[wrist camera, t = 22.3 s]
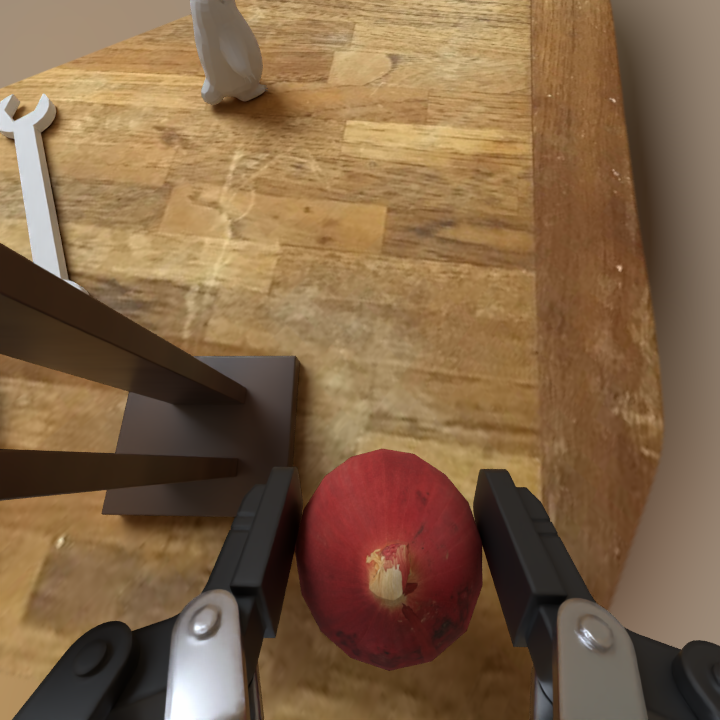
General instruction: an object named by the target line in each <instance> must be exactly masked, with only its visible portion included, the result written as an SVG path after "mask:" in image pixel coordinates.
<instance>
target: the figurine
mask: <svg viewBox="0 0 720 720" xmlns="http://www.w3.org/2000/svg"><path fill="white" fill-rule="evenodd" d="M190 4H191V14H192V18H193V25H194V35H195V42H196V47H197V51H198V55H199V59H200V61H201V64H202V67H203V69H204V72H205V76H206V79H205V82H204V84H203V87H202V91H201V93H202V98H203V100H204V101H205V102H207V103H209V104H211V105H215V104H218V103H220V102H221V101H222V100H223V98H224V97H226V96H232V97H236V98H238V99H239V100H241V101H244V102H245V101H248V100H250V99H253V98H255V97H257V96H259V95H260V94H262V93H263V92H264V91H267V90H264V89H268V88H266V87H265V86H266V85H261V84H260V83H259V81H260V78H261V75H262V68H263V64H262V56H261V52H260V48H259V45H258V43H257V40H256V38H255V36H254V34H253V32H252V31H251V29H250V27H249V26H248V24H247V22H246V21H245V19H244V18H243V16H242V15H241V13H240V12H239V10H238V9H237V7H236V4H235V1H234V0H190Z"/></svg>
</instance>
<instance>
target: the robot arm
mask: <svg viewBox="0 0 720 720" xmlns="http://www.w3.org/2000/svg"><path fill="white" fill-rule="evenodd" d="M302 509H303V500H302V493H301V486H300V480H299V473H298V469H297V467H273V468H272V470H271V472H270V475H269V478H268V481H267V483H266V484H255V485H254V486H253V487H252V488H251V490H250V491H249V492H248V493H247V494H246V495H245V496H244V497H243V499H242V502H241V504H240V507H239V509H238V511H237V515H236V517H235V518H234V521H233V523H232V525H231V530H229V533H228V535H227V537H226V540H225V542H224V544H223V547H222V549H221V551H220V554H219V556H218V558H217V561H216V563H215V566H214V568H213V570H212V573H211V575H210V577H209V580H208V582H207V584H206V586H205V588H204V590H203V591H202V593H201V594H200V595H199V596H197V597H195V598H194V599H193V600H192V601H190V602H189V603H188V604H187V605H186V607H185V608H184V609H183V610H182V612H181V613H179V614H178V615H176V616H174V617H172V618H169V619H167V620H164V621H161V622H158V623H155V624H152V625H149V626H146V627H143V628H140V629H137V630H134V631H131V630H130V628H129V627H128V626H127V625H126V624H125V623H123V622H120V621H110V622H106V623H103V624H101V625H98V626H96V627H94V628H93V629H91V630H89V631H88V632H86V633H85V634H84V635H82V636H81V637H80V638H79V639H78V640H77V641H76V642H75V643H73V644H72V645H71V647H70V648H69V649H68V650H67V651H66V652H65V654H64V655H63V656H62V657H61V659H60V660H59V661H58V662H57V664H56V665H55V666H54V667H53V669H52V670H51V671H50V673H49V674H48V675H47V676H46V678H45V679H44V680H43V681H42V683H41V684H40V685H39V686H38V688H37V689H36V690H35V692H34V693H33V694H32V695H31V696H30V698H29V699H28V701H26V703H25V704H24V705H23V707H22V708H21V709H20V710H19V712H18V713H17V714H16V715H15V717H14V718H13V719H12V720H264V712H263V703H262V694H261V685H260V675H259V666H258V658H259V654H260V650H261V646H262V642H263V638H275V637H276V633H277V628H278V624H279V619H280V614H281V610H282V605H283V601H284V596H285V591H286V587H287V582H288V578H289V573H290V569H291V564H292V559H293V555H294V550H295V546H296V541H297V537H298V532H299V527H300V523H301V518H302ZM473 511H474V518H475V523H476V526H477V529H478V532H479V534H480V537H481V540H482V546H483V549H484V552H485V555H486V559H487V562H488V565H489V568H490V572H491V575H492V578H493V581H494V585H495V588H496V591H497V594H498V598H499V601H500V604H501V607H502V611H503V614H504V617H505V620H506V624H507V627H508V630H509V634H510V637H511V640H512V643H513V647H528V649H529V652H530V655H531V658H532V661H533V666H532V669H531V688H530V719H529V720H720V646H718V645H716V644H713V643H710V642H707V641H700V640H698V641H691V642H689V643H687V644H686V645H685V646H684V647H683V648H682V650H681V649H678V648H675V647H672V646H669V645H667V644H664V643H661V642H658V641H655V640H653V639H650V638H647V637H645V636H642V635H639V634H636V633H634V632H632V631H630V630H628V629H626V628H624V627H623V626H622V625H621V624H620V622H619V621H618V620H617V619H616V618H615V617H614V616H613V615H612V614H611V613H609V612H608V611H607V610H606V609H604V608H603V607H601V606H599V605H598V604H597V603H596V602H595V600H594V599H593V597H592V596H591V594H590V593H589V591H588V589H587V587H586V585H585V583H584V581H583V580H582V578H581V576H580V574H579V572H578V570H577V568H576V567H575V565H574V563H573V561H572V559H571V557H570V555H569V554H568V552H567V550H566V548H565V546H564V544H563V542H562V541H561V539H560V537H558V535H557V531H556V529H555V527H554V526H553V524H552V522H550V518H549V516H548V514H547V513H546V511H545V509H544V507H543V505H542V503H541V502H540V501H539V500H538V499H537V498H536V497H535V496H534V495H533V494H532V493H531V492H530V491H529V490H528V489H527V488H526V487H516V486H515V484H514V482H513V480H512V478H511V476H510V474H509V472H508V471H507V470H506V469H481V470H480V472H479V476H478V481H477V486H476V491H475V497H474V502H473Z"/></svg>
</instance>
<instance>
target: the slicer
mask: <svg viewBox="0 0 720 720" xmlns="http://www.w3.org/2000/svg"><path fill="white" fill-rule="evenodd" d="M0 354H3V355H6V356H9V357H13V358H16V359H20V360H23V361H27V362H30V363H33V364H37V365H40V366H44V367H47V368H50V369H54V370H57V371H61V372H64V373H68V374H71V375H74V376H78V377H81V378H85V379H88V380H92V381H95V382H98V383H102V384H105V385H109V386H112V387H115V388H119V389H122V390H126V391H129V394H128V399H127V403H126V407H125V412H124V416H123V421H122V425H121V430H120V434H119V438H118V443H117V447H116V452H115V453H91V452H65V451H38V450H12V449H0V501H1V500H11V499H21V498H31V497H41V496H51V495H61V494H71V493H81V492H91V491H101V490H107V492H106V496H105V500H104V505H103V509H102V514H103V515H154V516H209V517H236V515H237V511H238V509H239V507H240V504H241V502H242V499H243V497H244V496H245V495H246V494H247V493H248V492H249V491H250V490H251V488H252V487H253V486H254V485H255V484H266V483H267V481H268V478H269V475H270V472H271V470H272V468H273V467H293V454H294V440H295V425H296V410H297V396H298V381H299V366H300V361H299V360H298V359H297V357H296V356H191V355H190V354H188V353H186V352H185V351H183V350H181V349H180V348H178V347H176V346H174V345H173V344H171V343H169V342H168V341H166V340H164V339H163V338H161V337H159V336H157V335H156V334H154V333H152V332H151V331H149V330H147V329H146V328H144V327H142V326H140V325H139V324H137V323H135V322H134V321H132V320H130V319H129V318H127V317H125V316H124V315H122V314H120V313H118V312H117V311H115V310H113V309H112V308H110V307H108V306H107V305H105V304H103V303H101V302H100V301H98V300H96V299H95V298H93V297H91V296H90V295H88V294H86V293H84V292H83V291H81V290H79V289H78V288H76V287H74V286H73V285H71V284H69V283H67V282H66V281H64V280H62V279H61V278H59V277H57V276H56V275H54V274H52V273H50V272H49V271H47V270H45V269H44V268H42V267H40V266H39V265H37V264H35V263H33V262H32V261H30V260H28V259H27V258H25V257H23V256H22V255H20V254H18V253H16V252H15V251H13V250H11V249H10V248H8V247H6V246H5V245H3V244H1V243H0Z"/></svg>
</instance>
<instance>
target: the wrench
mask: <svg viewBox="0 0 720 720" xmlns="http://www.w3.org/2000/svg"><path fill="white" fill-rule="evenodd" d="M19 104H20V101H19V100H18V99H17V98H16V97H15V96H14V95H13V94H12V95H10V96H8V97H6V98H5V99H4V100H2V101H1V102H0V132H1V133H2V134H3V135H4V136H6V137H8V138H11V139H15V146H16V152H17V159H18V165H19V172H20V179H21V185H22V192H23V198H24V205H25V211H26V218H27V224H28V231H29V237H30V244H31V251H32V257H33V263H35V264H37V265H39V266H40V267H42V268H44V269H45V270H47V271H49V272H50V273H52V274H54V275H56V276H57V277H59V278H61V279H62V280H64V281H66V282H67V283H69V284H71V285H73V286H74V287H76V288H78V289H79V290H81V291H83V292H84V293H86V294H88V295H89V293H88V292H87V291H86V290H85V289H84V288H83V287H82V286H80V285H78V284H77V283H75V282H72V281H70V280H69V279H68V274H67V269H66V263H65V258H64V253H63V248H62V242H61V237H60V232H59V227H58V221H57V216H56V211H55V205H54V200H53V195H52V190H51V184H50V179H49V174H48V168H47V163H46V158H45V153H44V147H43V142H42V137H41V132H42V131H44V130H45V129H46V128H47V127H48V126H49V125H50V124H51V123H52V121H53V120H54V118H55V115H56V108H55V105H54V104H53V103H52V102H51V101H50V100H49V98H48V97H47V96H46V95H45V94H44V93H43V95H42V97H41V99H40V101H39V103H38V105H37V107H36V109H35V111H33V112H31V113H29V114H27V115H25V116H23V117H21V118H20V119H18V120H16V121H14V120H13V118H12V117H13V116H14V114H15V112H16V110H17V108H18V106H19Z"/></svg>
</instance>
